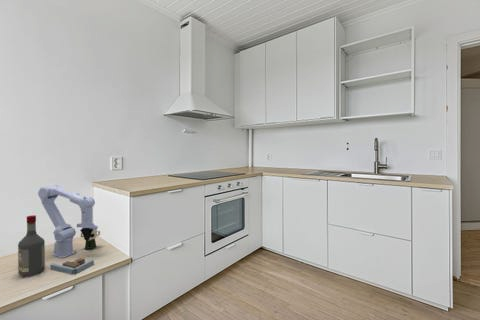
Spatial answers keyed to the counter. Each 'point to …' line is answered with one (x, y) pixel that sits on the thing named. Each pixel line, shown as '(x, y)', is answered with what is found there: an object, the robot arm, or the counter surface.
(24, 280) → the counter surface
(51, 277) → the counter surface
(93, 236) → the character mug
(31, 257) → the liquor
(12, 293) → the counter surface
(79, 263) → the walnut tee
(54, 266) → the slate fence
